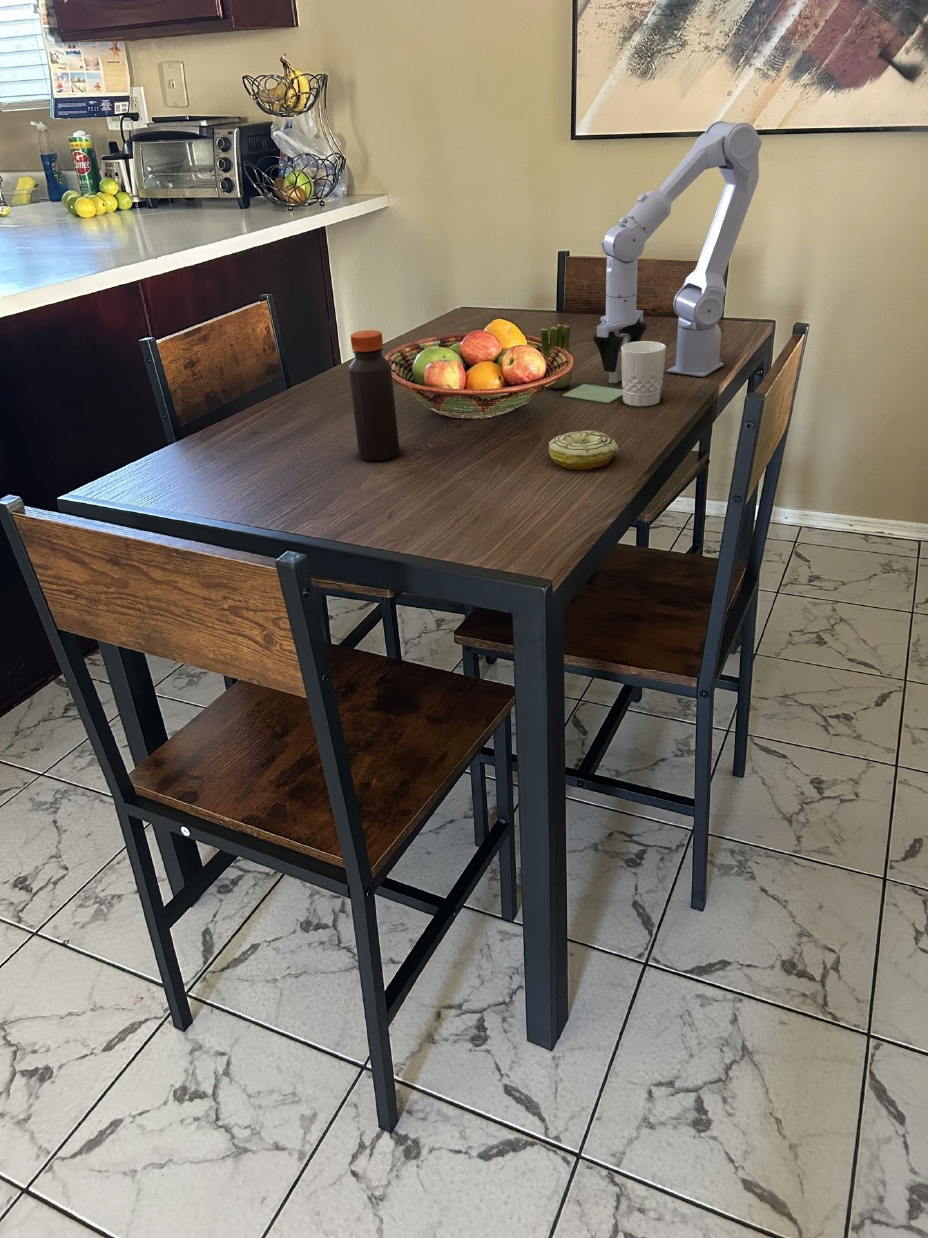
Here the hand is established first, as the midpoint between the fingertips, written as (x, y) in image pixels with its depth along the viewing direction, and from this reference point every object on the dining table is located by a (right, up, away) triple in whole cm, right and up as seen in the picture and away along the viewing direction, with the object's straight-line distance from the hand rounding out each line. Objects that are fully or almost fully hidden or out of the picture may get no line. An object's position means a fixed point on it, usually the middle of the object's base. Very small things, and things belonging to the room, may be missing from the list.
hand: (619, 366), depth 183 cm
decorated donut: (-11, -25, -34) cm, 44 cm away
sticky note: (-5, -7, -5) cm, 10 cm away
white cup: (+2, -9, -10) cm, 14 cm away
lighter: (0, -2, +1) cm, 2 cm away
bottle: (-45, -22, -27) cm, 57 cm away
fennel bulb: (-12, -4, 0) cm, 13 cm away
